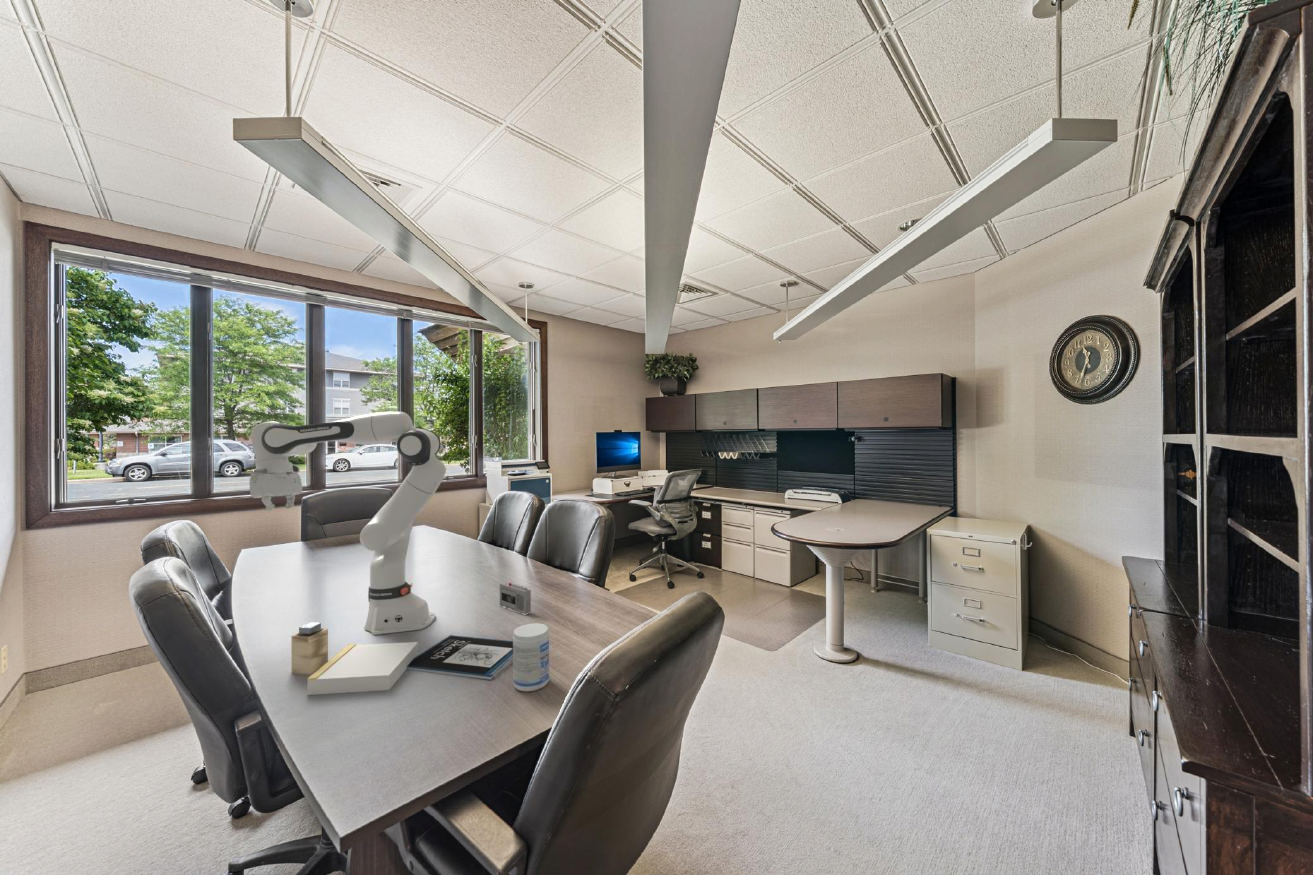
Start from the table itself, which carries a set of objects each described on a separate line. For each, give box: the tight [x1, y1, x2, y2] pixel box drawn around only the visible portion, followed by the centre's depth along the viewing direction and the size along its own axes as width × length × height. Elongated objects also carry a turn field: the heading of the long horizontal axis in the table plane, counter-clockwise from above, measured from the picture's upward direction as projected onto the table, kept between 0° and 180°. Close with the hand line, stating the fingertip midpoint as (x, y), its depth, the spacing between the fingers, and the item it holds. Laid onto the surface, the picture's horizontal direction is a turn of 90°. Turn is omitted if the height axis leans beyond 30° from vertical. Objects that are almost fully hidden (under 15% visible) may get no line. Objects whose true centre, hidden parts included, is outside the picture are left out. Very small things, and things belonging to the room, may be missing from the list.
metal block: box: [298, 622, 322, 636], centre depth 135 cm, size 4×4×4 cm
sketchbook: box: [406, 634, 513, 681], centre depth 142 cm, size 22×30×2 cm
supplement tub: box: [512, 622, 550, 692], centre depth 126 cm, size 10×10×15 cm
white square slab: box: [306, 641, 419, 696], centre depth 132 cm, size 20×20×4 cm
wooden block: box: [290, 627, 329, 675], centre depth 135 cm, size 6×6×10 cm
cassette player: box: [499, 581, 532, 614], centre depth 180 cm, size 16×3×10 cm, turn 54°
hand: (280, 509), depth 158 cm, fingers open, 8 cm apart
